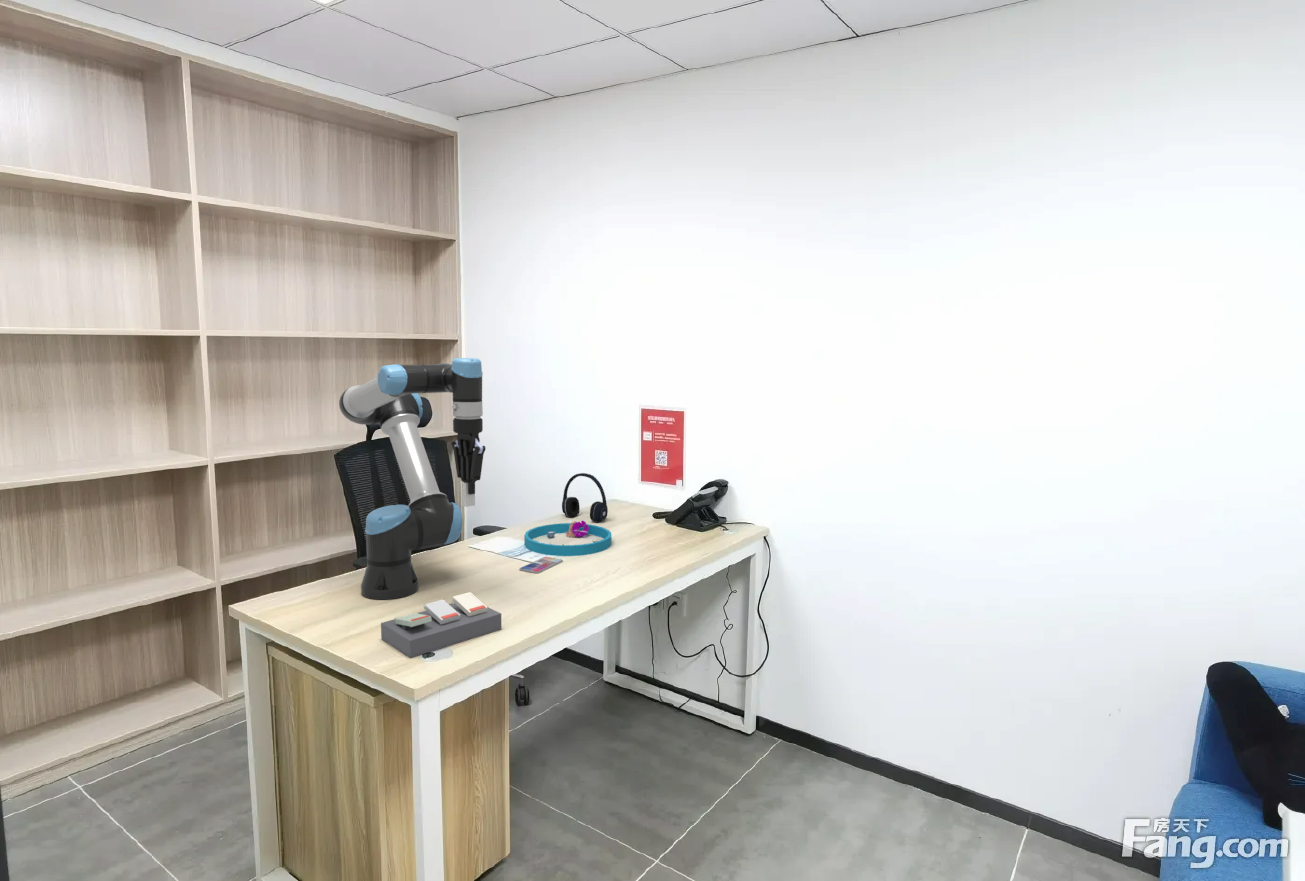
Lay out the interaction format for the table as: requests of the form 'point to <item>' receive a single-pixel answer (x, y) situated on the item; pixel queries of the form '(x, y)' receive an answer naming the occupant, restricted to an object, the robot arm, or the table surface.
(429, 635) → the rocker switch panel
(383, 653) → the table surface
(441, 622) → the grey rocker
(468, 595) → the cream rocker
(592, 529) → the teal round tray
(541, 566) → the smartphone
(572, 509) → the headphones
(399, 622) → the sage rocker
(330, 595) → the table surface
